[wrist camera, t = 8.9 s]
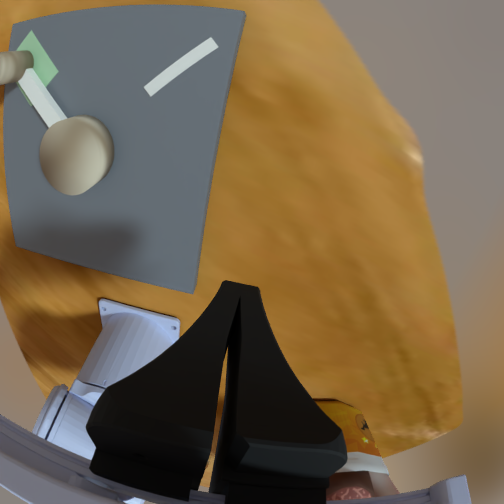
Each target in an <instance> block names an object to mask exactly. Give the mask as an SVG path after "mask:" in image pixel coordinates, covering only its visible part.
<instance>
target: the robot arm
mask: <svg viewBox="0 0 504 504" xmlns="http://www.w3.org/2000/svg"><path fill="white" fill-rule="evenodd" d="M104 307H105V308H104ZM99 309H100V315H101V321H102V327H103V329H102V331H101V333H100V335H99V336H98V338H97V340H96V342H95V344H94V346H93V347H92V349H91V351H90V353H89V355H88V357H87V359H86V361H85V363H84V364H83V366H82V368H81V370H80V372H79V374H78V376H77V378H76V379H75V380H74V382H73V384H72V386H71V388H70V390H69V391H67V389H68V387H67V386H66V385H65V384H61V386H60V385H58V386H55V387H54V388H53V389H52V391H51V393H50V395H49V396H48V398H47V400H46V402H45V404H44V406H43V408H42V410H41V413H40V415H39V417H38V419H37V422H36V424H35V426H34V428H33V431H32V433H31V432H29V431H28V430H26V429H24V428H22V427H21V426H19V425H17V424H15V423H14V422H12V421H10V420H9V419H7V418H5V417H4V416H2V415H1V414H0V486H2V487H3V488H5V489H7V490H8V491H10V492H11V493H13V494H14V495H16V496H17V497H19V498H20V499H22V500H24V501H25V502H27V503H29V504H143V503H144V501H145V500H146V501H149V502H153V503H157V504H471V500H470V494H469V489H468V485H467V480H466V476H465V475H464V474H463V475H459V476H456V477H452V478H449V479H445V480H442V481H440V482H438V483H436V484H434V485H432V486H431V487H430V488H427V489H422V490H417V491H412V492H407V493H401V494H394V495H387V496H380V497H372V498H362V499H350V500H334V501H326V489H327V488H329V486H330V483H329V476H331V475H332V474H334V473H335V472H337V471H338V470H339V469H341V468H342V467H343V466H344V465H345V464H346V463H347V459H348V457H347V448H346V443H345V439H344V435H343V431H342V429H341V428H340V427H339V426H338V425H337V424H336V423H335V422H334V421H333V420H331V419H330V418H329V417H328V416H327V415H326V414H325V413H324V412H323V411H322V409H321V408H320V407H319V406H318V405H317V404H316V402H315V401H314V400H313V399H312V398H311V396H310V395H309V394H308V392H307V391H306V390H305V388H304V387H303V386H302V384H301V383H300V382H299V380H298V379H297V377H296V376H295V374H294V372H293V371H292V369H291V368H290V366H289V364H288V363H287V361H286V359H285V357H284V355H283V353H282V351H281V350H280V348H279V345H278V343H277V341H276V339H275V337H274V334H273V332H272V329H271V327H270V324H269V321H268V319H267V316H266V313H265V310H264V306H263V303H262V299H261V294H260V290H259V288H258V287H255V286H251V285H246V284H241V283H236V282H232V281H227V280H225V281H223V282H222V284H221V286H220V288H219V290H218V292H217V294H216V295H215V297H214V298H213V300H212V301H211V303H210V304H209V305H208V307H207V308H206V309H205V311H204V312H203V313H202V314H201V316H200V317H199V318H198V319H197V320H196V321H195V322H194V324H193V325H192V326H191V327H190V328H189V329H188V330H187V331H186V332H185V333H184V334H183V335H182V336H181V337H180V338H179V332H180V321H179V319H177V318H174V317H170V316H166V315H162V314H158V313H154V312H150V311H147V310H143V309H139V308H135V307H132V306H128V305H124V304H121V303H117V302H114V301H110V300H107V299H100V301H99ZM174 326H175V327H174ZM227 347H228V356H227V371H226V388H225V399H224V407H223V413H222V419H221V425H220V431H219V436H218V442H217V448H216V454H215V460H214V465H213V471H212V476H211V482H210V487H209V493H207V492H202V491H198V488H199V485H200V482H201V479H202V477H203V474H204V471H205V468H206V465H207V462H208V459H209V455H210V452H211V446H212V440H213V434H214V426H215V418H216V410H217V402H218V395H219V388H220V381H221V374H222V367H223V361H224V358H225V354H226V351H227Z"/></svg>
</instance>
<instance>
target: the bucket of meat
mask: <svg viewBox="0 0 504 504" xmlns="http://www.w3.org/2000/svg"><path fill="white" fill-rule="evenodd" d="M315 402H316V404H317V405H318V406H319V407H320V408H321V409H322V411H323V412H324V413H325V414H326V415H327V416H328V417H329V418H330V419H331V420H333V421H334V422H335V423H336V424H337V425H338V426H339V427H340V428H341V429H342V431H343V435H344V439H345V443H346V448H347V457H348V459H347V463H346V464H345V465H344V466H343V467H342V468H341V469H339V470H338V471H337V472H335V473H334V474H332V475H331V476H329V483H330V486H329V488H327V489H326V501H334V500H350V499H362V498H372V497H380V496H387V495H394V494H400V493H399V492H398V490H397V488H396V487H395V486H394V484H393V482H392V481H391V479H390V478H389V473H388V470H387V467H386V465H385V464H384V462H383V460H382V457H381V455H380V453H379V451H378V448H377V446H376V444H375V441H374V439H373V437H372V434H371V432H370V430H369V428H368V425H367V423H366V421H365V419H364V416H363V414H362V412H361V411H359V410H358V409H356V408H354V407H352V406H349V405H347V404H345V403H342V402H340V401H315Z"/></svg>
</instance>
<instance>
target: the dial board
mask: <svg viewBox="0 0 504 504" xmlns="http://www.w3.org/2000/svg"><path fill="white" fill-rule="evenodd" d="M245 18H246V14H245V11H239V10H232V9H224V8H214V7H203V6H187V5H128V6H113V7H102V8H92V9H84V10H77V11H71V12H65V13H59V14H54V15H49V16H44V17H39V18H35V19H31V20H27V21H23V22H19V23H16V24H13V27H12V33H11V39H10V45H9V51H23V50H28V51H30V52H31V53H32V55H33V58H34V65H33V70H34V71H35V73H36V74H37V76H38V77H39V79H40V80H41V82H42V83H43V84H44V86H45V87H46V89H47V90H48V92H49V93H50V95H51V96H52V97H53V99H54V100H55V102H56V103H57V105H58V106H59V107H60V109H61V110H62V112H63V113H64V114H65V116H66V117H67V118H71V117H74V116H77V115H91V116H93V117H96V118H97V119H99V120H100V121H101V122H103V123H104V125H105V126H106V127H107V128H108V130H109V132H110V134H111V136H112V139H113V143H114V160H113V164H112V167H111V169H110V171H109V173H108V174H107V175H106V176H105V178H103V179H102V180H101V181H99V182H98V183H97V184H95V185H94V186H92V187H91V188H90V189H88V190H87V191H85V192H84V193H82V194H79V195H66V194H63V193H61V192H59V191H57V190H56V189H55V188H54V187H53V186H51V184H50V183H49V182H48V180H47V179H46V177H45V175H44V173H43V171H42V168H41V164H40V145H41V141H42V138H43V136H44V134H45V133H46V131H47V130H48V129H49V127H48V126H47V124H46V123H45V121H44V120H43V119H42V117H41V116H40V114H39V113H38V111H37V110H36V108H35V107H34V105H33V104H32V102H31V101H30V99H29V98H28V96H27V95H26V93H25V92H24V90H23V89H22V87H21V86H20V84H19V82H13V83H8V84H5V91H4V116H3V135H4V161H5V174H6V185H7V194H8V202H9V209H10V216H11V222H12V228H13V233H14V238H15V244H16V246H17V247H20V248H23V249H26V250H30V251H33V252H36V253H39V254H43V255H46V256H49V257H53V258H56V259H59V260H63V261H66V262H70V263H73V264H77V265H80V266H84V267H87V268H91V269H95V270H98V271H102V272H106V273H109V274H113V275H117V276H121V277H125V278H128V279H132V280H136V281H140V282H144V283H148V284H152V285H156V286H160V287H165V288H169V289H173V290H177V291H182V292H186V293H190V294H193V293H194V290H195V287H196V284H197V276H198V268H199V261H200V254H201V247H202V240H203V233H204V227H205V220H206V214H207V207H208V201H209V195H210V189H211V183H212V177H213V171H214V166H215V160H216V155H217V149H218V144H219V138H220V133H221V128H222V123H223V118H224V113H225V108H226V103H227V98H228V93H229V88H230V84H231V79H232V74H233V70H234V65H235V61H236V56H237V52H238V48H239V43H240V39H241V35H242V31H243V27H244V23H245Z"/></svg>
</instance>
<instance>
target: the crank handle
mask: <svg viewBox="0 0 504 504" xmlns="http://www.w3.org/2000/svg"><path fill="white" fill-rule="evenodd" d="M33 65H34V58H33V55H32V53H31V52H30V51H28V50H23V51H8V52H0V85H3V84H8V83H13V82H19V84H20V86H21V87H22V89H23V90H24V92H25V93H26V95H27V96H28V98H29V99H30V101H31V102H32V104H33V105H34V107H35V108H36V110H37V111H38V113H39V114H40V116H41V117H42V119H43V120H44V121H45V123H46V124H47V126H48V127H49V129H48V130H47V131H46V133H45V134H44V136H43V138H42V141H41V145H40V164H41V168H42V171H43V173H44V175H45V177H46V179H47V180H48V182H49V183H50V184H51V186H53V187H54V188H55V189H56V190H57V191H59V192H61V193H63V194H66V195H79V194H82V193H84V192H85V191H87V190H88V189H90V188H91V187H92V186H94V185H95V184H97V183H98V182H99V181H101V180H102V179H103V178H105V176H106V175H107V174H108V173H109V171H110V169H111V167H112V164H113V160H114V143H113V139H112V136H111V134H110V132H109V130H108V128H107V127H106V126H105V125H104V123H103V122H101V121H100V120H99V119H97V118H96V117H93V116H91V115H77V116H74V117H71V118H67V117H66V116H65V114H64V113H63V112H62V110H61V109H60V107H59V106H58V105H57V103H56V102H55V100H54V99H53V97H52V96H51V95H50V93H49V92H48V90H47V89H46V87H45V86H44V84H43V83H42V82H41V80H40V79H39V77H38V76H37V74H36V73H35V71H34V70H33Z"/></svg>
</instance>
